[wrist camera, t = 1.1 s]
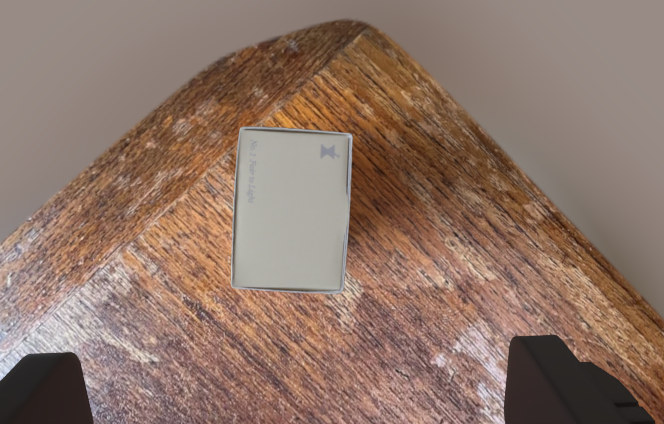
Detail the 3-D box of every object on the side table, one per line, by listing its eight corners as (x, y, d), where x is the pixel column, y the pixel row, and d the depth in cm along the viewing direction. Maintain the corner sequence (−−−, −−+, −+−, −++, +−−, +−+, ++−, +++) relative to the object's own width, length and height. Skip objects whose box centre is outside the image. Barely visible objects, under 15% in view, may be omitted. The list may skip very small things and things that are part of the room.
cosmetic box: (251, 152, 30) (234, 117, 18) (324, 157, 31) (355, 126, 19) (245, 256, 30) (224, 290, 18) (318, 259, 31) (345, 295, 19)
